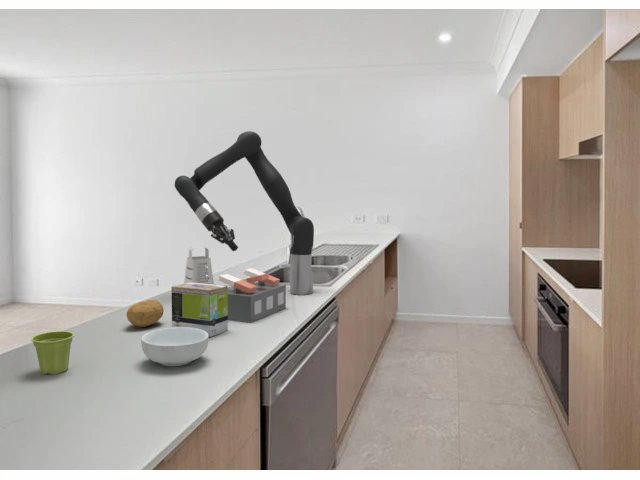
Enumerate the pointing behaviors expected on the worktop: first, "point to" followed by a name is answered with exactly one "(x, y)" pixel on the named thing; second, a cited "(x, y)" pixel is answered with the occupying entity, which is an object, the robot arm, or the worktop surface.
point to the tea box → (200, 307)
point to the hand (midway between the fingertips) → (235, 249)
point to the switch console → (255, 302)
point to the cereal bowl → (174, 345)
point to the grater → (198, 268)
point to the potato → (145, 313)
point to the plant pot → (53, 351)
